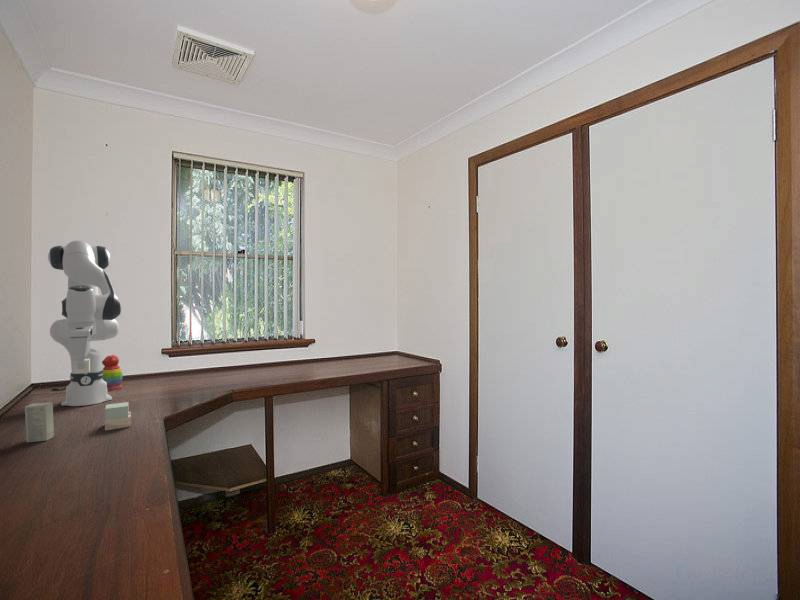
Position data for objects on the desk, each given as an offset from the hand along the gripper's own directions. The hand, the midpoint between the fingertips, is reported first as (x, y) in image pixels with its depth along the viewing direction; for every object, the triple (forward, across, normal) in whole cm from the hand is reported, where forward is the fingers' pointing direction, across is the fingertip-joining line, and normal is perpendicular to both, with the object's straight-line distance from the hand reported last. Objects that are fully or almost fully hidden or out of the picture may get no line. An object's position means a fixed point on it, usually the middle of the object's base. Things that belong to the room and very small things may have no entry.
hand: (81, 367), depth 154 cm
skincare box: (+22, +8, -11) cm, 26 cm away
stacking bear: (+23, -73, +6) cm, 76 cm away
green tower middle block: (+18, +5, +11) cm, 22 cm away
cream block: (+2, 0, 0) cm, 2 cm away
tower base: (+22, +5, +11) cm, 26 cm away
